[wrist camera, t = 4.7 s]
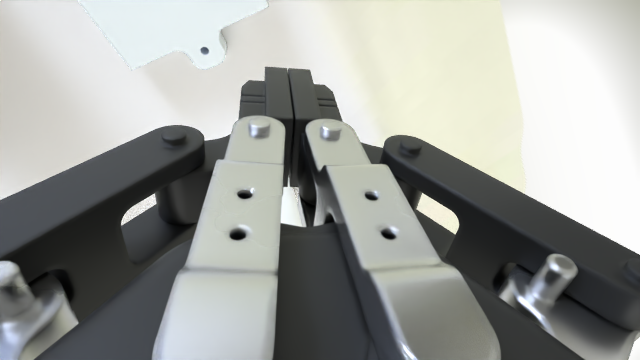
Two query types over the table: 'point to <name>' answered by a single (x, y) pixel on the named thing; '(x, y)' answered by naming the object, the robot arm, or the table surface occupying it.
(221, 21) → the mounting plate
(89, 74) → the table surface
